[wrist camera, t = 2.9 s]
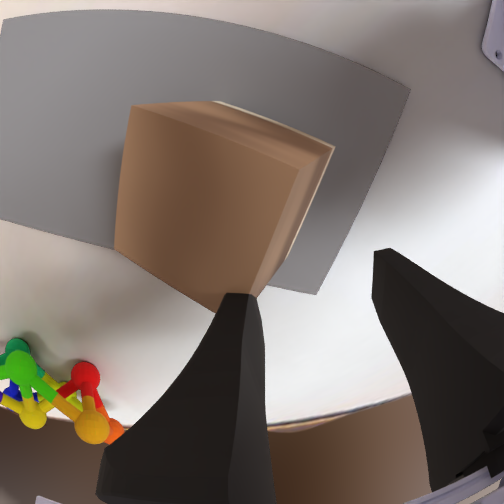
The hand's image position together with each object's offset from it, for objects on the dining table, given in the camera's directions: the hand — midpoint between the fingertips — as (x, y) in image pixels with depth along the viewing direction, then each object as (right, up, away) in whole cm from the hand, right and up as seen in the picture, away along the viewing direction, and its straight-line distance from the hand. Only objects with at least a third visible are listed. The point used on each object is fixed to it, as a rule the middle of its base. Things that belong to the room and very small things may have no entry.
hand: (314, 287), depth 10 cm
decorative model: (-20, -9, +13) cm, 25 cm away
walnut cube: (-2, +4, +2) cm, 5 cm away
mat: (-6, +6, +3) cm, 9 cm away
